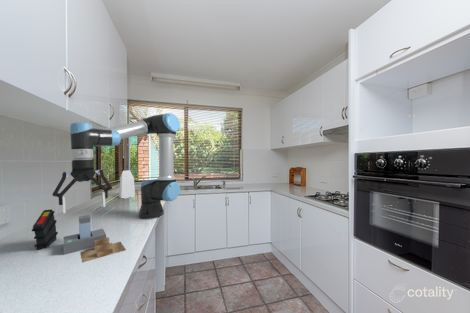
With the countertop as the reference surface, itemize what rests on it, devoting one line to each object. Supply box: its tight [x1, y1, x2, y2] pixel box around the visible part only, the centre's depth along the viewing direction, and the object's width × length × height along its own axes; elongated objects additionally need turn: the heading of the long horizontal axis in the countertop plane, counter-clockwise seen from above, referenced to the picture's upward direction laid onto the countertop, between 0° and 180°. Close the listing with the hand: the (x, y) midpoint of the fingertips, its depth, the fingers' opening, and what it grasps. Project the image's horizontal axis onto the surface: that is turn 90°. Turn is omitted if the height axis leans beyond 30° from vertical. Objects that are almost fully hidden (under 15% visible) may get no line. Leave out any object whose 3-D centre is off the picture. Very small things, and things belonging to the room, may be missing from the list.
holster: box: [79, 237, 127, 263], centre depth 81 cm, size 14×11×4 cm
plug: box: [78, 214, 92, 239], centre depth 87 cm, size 4×5×12 cm
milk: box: [118, 169, 136, 199], centre depth 201 cm, size 12×12×26 cm
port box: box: [62, 228, 107, 256], centre depth 87 cm, size 14×10×5 cm
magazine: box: [31, 209, 59, 251], centre depth 91 cm, size 4×13×15 cm, turn 21°
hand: (85, 209), depth 87 cm, fingers open, 13 cm apart
